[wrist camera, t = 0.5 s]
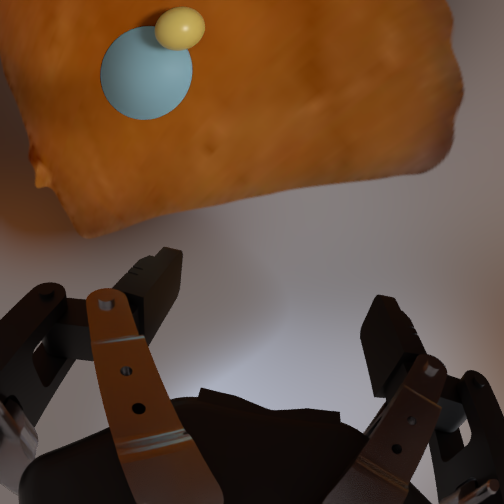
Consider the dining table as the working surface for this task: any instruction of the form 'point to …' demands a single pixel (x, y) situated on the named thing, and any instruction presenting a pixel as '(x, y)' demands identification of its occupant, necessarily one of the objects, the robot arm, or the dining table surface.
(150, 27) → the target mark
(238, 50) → the dining table surface
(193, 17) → the yellow ball
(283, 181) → the dining table surface
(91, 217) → the dining table surface
